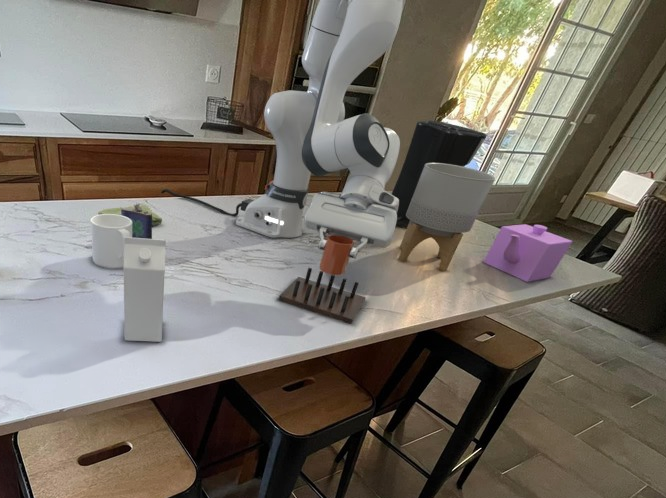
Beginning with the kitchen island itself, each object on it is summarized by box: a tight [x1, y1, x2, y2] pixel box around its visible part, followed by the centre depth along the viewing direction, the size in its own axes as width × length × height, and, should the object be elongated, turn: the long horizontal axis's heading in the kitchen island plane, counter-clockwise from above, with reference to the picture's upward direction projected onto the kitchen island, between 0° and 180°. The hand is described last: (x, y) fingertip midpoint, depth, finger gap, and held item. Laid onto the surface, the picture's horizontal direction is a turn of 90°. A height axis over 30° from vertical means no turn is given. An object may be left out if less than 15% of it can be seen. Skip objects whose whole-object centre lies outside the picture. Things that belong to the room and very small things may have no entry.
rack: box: [278, 267, 366, 325], centre depth 105 cm, size 18×14×5 cm
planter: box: [397, 163, 496, 272], centre depth 130 cm, size 19×19×26 cm
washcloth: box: [97, 204, 163, 227], centre depth 135 cm, size 13×18×3 cm
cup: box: [318, 234, 355, 276], centre depth 99 cm, size 6×6×7 cm
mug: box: [89, 214, 132, 270], centre depth 108 cm, size 13×10×10 cm
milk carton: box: [122, 237, 167, 343], centre depth 81 cm, size 7×7×19 cm
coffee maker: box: [390, 119, 487, 229], centre depth 158 cm, size 23×32×34 cm
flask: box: [121, 203, 153, 239], centre depth 120 cm, size 9×3×11 cm, turn 71°
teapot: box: [483, 223, 574, 283], centre depth 135 cm, size 15×25×14 cm, turn 117°
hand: (336, 252), depth 98 cm, fingers closed on cup, 6 cm apart
